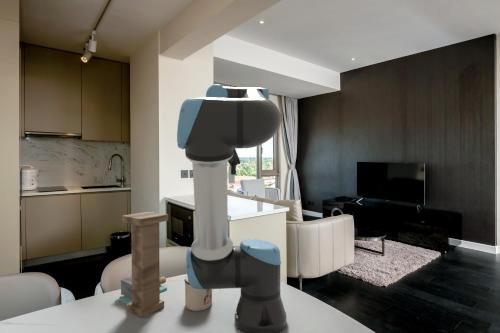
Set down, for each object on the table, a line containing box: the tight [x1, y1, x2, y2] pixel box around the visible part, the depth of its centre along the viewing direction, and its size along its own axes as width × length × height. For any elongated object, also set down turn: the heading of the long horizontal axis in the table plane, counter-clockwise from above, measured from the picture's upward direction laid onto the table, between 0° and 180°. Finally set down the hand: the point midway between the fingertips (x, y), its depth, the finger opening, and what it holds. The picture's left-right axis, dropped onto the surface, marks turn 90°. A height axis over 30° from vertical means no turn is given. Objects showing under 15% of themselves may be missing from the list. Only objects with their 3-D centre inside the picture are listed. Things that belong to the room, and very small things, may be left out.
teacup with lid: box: [184, 275, 213, 312], centre depth 99 cm, size 12×9×12 cm
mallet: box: [120, 275, 167, 299], centre depth 107 cm, size 15×8×5 cm, turn 143°
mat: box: [119, 284, 168, 305], centre depth 105 cm, size 6×15×1 cm, turn 144°
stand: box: [121, 211, 169, 318], centre depth 95 cm, size 10×10×30 cm
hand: (218, 182), depth 116 cm, fingers open, 13 cm apart
